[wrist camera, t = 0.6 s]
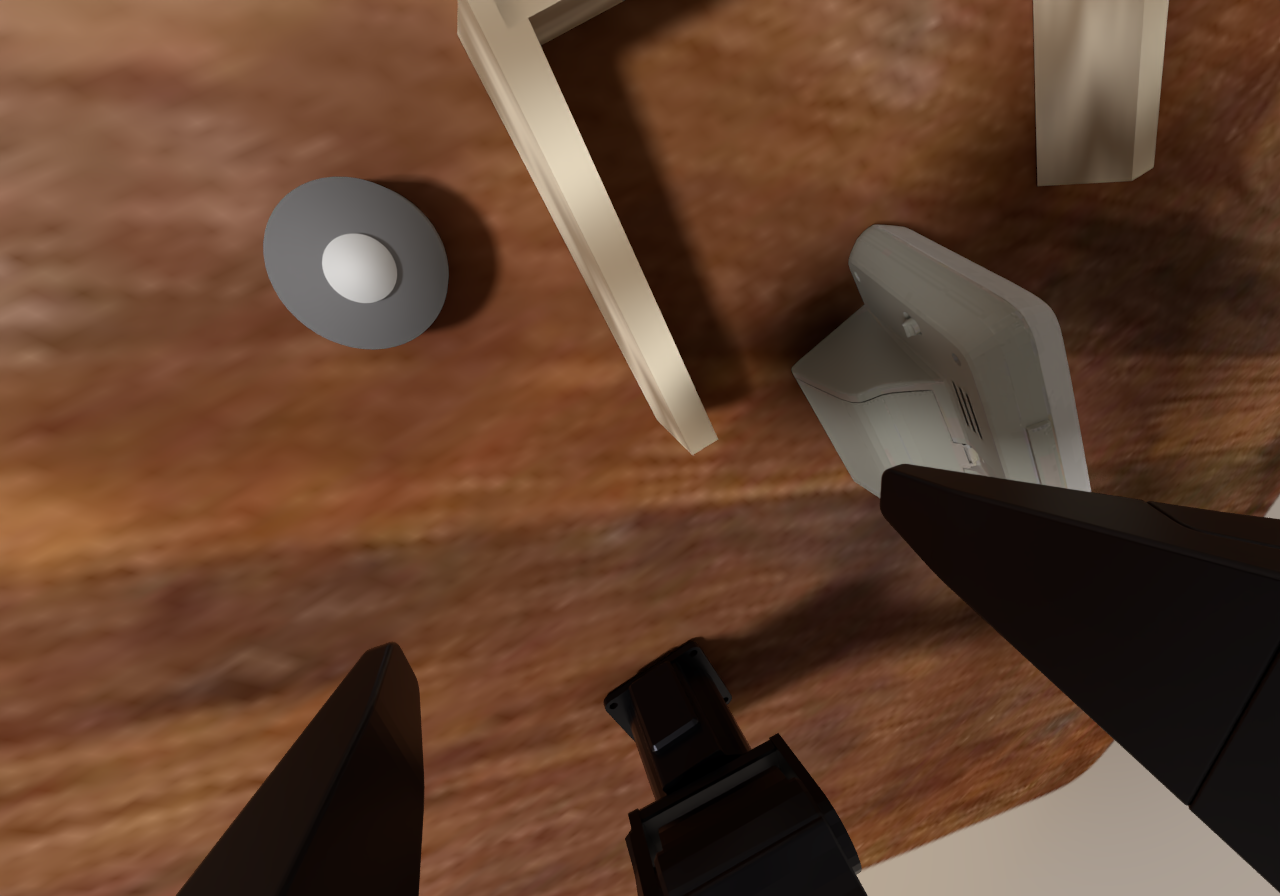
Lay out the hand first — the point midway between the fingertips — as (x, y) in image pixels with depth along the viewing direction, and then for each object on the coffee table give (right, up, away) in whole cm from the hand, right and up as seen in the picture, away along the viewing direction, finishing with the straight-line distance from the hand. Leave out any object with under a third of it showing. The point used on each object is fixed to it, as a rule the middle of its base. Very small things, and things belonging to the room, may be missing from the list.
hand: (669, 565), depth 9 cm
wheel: (-10, +8, +8) cm, 15 cm away
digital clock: (+12, +6, +18) cm, 23 cm away
